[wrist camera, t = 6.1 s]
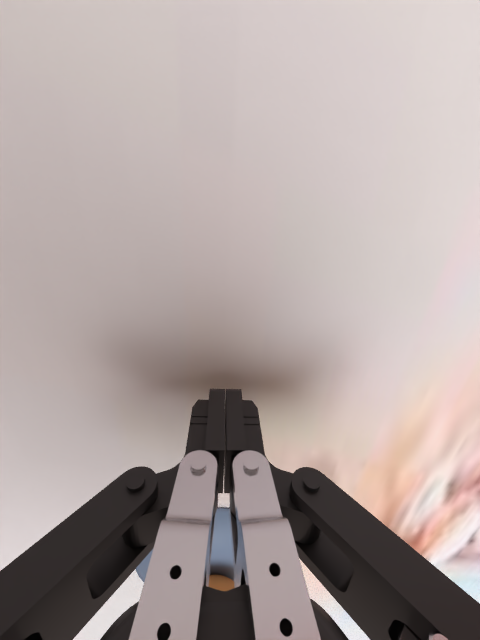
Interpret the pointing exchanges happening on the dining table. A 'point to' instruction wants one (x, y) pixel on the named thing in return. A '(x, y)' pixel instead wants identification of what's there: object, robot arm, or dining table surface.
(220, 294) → the dining table surface
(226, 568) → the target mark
